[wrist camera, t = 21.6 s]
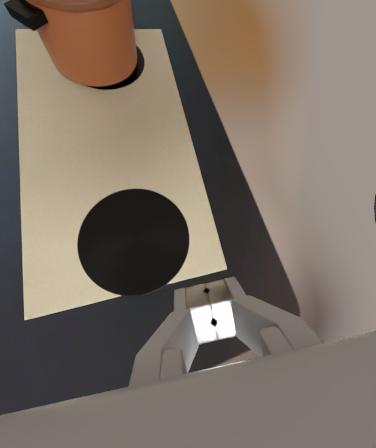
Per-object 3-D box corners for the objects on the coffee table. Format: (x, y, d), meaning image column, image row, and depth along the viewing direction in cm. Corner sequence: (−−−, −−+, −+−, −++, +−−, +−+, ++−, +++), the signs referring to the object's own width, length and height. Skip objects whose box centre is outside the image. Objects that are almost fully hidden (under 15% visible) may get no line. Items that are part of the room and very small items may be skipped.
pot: (98, 14, 31) (67, -114, 20) (161, 54, 30) (160, -57, 20) (23, 65, 26) (-65, -66, 16) (95, 113, 26) (51, 9, 16)
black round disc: (176, 184, 26) (177, 181, 25) (199, 279, 23) (201, 280, 22) (75, 200, 23) (72, 197, 22) (86, 308, 20) (83, 310, 19)
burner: (138, 38, 32) (137, 30, 31) (151, 93, 29) (151, 87, 28) (62, 39, 30) (59, 31, 29) (69, 98, 27) (65, 92, 26)
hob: (161, 36, 33) (161, 28, 32) (224, 269, 24) (227, 269, 23) (20, 37, 29) (15, 28, 28) (30, 318, 20) (23, 320, 19)
